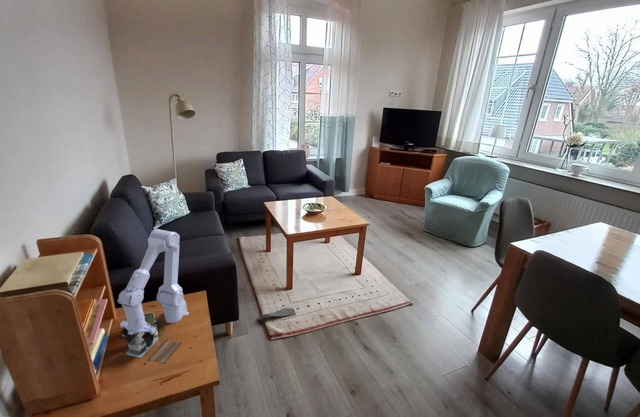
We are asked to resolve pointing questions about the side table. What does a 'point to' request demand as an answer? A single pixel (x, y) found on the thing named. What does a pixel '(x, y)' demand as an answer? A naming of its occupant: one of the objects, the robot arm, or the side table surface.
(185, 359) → the side table surface
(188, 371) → the side table surface
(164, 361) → the walnut stand
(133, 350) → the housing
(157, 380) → the side table surface
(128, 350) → the bluegrey stand
